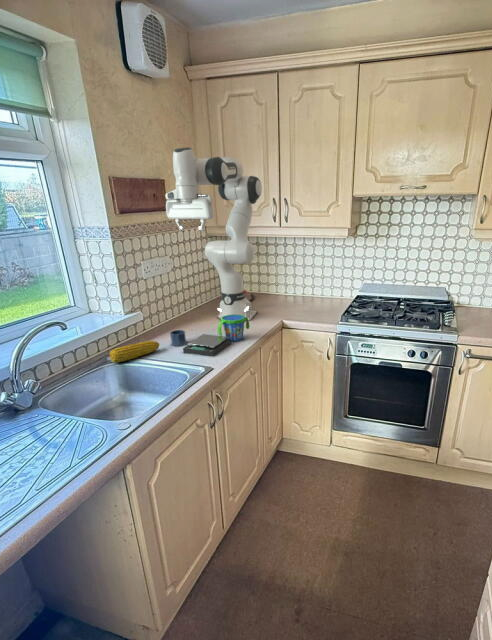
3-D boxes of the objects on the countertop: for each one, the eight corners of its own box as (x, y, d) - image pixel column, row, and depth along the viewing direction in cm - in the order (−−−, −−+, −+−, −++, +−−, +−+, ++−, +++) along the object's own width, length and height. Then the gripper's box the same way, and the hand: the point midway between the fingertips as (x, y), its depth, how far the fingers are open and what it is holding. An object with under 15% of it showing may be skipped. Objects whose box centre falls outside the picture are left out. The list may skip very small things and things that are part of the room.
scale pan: (203, 335, 181) (203, 334, 181) (227, 338, 177) (227, 336, 177) (187, 345, 170) (187, 343, 170) (213, 348, 166) (213, 346, 166)
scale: (203, 340, 183) (202, 334, 182) (231, 343, 179) (230, 337, 178) (183, 352, 169) (182, 346, 168) (213, 356, 165) (212, 349, 164)
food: (116, 366, 157) (113, 351, 155) (109, 363, 160) (106, 348, 158) (162, 350, 172) (160, 337, 169) (155, 348, 175) (152, 334, 173)
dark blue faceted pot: (176, 340, 183) (175, 329, 181) (189, 342, 181) (187, 330, 179) (168, 345, 178) (167, 333, 176) (181, 346, 176) (179, 335, 174)
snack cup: (244, 332, 192) (242, 311, 188) (255, 338, 184) (254, 316, 180) (214, 339, 184) (211, 317, 180) (224, 345, 176) (222, 323, 172)
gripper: (214, 193, 162) (217, 230, 167) (170, 194, 168) (175, 230, 174) (206, 193, 156) (210, 231, 162) (161, 194, 163) (166, 231, 168)
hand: (191, 231), depth 168 cm, fingers open, 8 cm apart
